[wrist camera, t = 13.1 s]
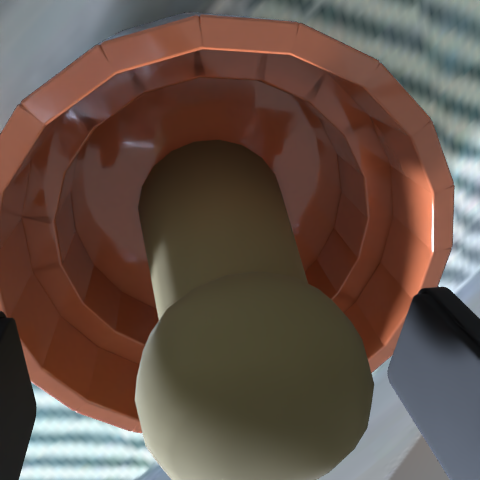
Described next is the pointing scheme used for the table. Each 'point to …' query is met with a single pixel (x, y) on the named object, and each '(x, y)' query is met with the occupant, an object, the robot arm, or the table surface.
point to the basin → (203, 129)
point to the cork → (240, 330)
